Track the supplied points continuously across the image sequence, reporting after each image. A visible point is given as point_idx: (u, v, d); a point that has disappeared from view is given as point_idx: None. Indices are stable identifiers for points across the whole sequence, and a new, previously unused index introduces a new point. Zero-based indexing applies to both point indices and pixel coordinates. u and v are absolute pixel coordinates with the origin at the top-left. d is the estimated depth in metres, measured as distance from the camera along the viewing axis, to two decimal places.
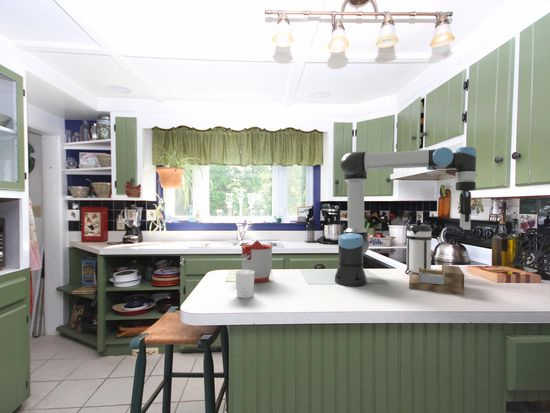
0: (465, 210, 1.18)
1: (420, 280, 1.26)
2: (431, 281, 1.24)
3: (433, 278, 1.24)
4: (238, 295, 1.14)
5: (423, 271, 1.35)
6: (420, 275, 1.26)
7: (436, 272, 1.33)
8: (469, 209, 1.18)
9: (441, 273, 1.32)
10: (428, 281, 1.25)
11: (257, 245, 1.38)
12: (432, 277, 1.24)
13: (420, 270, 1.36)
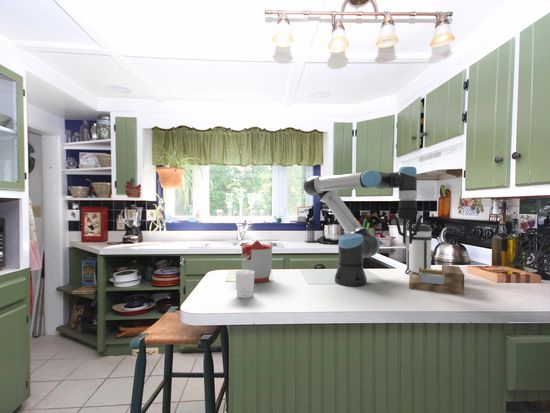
0: None
1: (420, 280, 1.26)
2: (431, 281, 1.24)
3: (433, 278, 1.24)
4: (238, 295, 1.14)
5: (423, 271, 1.35)
6: (420, 275, 1.26)
7: (436, 272, 1.33)
8: None
9: (441, 273, 1.32)
10: (428, 281, 1.25)
11: (257, 245, 1.38)
12: (432, 277, 1.24)
13: (420, 270, 1.36)
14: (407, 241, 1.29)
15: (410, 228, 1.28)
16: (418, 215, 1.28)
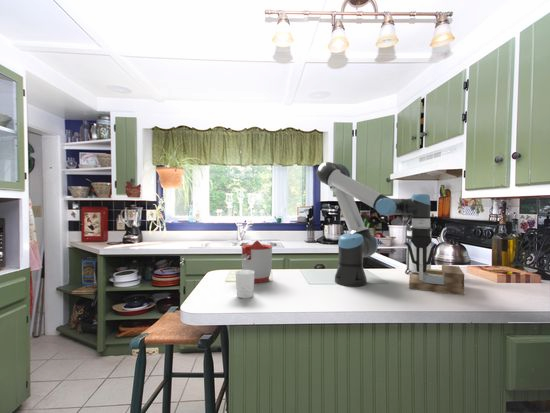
0: None
1: (424, 280, 1.25)
2: (435, 281, 1.24)
3: (437, 278, 1.23)
4: (238, 295, 1.14)
5: None
6: (424, 275, 1.25)
7: (436, 272, 1.33)
8: None
9: (441, 273, 1.32)
10: (432, 281, 1.24)
11: (257, 245, 1.38)
12: (436, 277, 1.23)
13: None
14: (421, 270, 1.26)
15: (424, 257, 1.26)
16: (432, 243, 1.25)
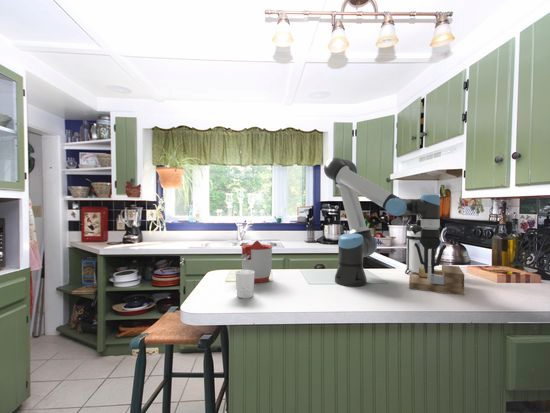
0: None
1: (432, 281, 1.24)
2: (444, 282, 1.22)
3: None
4: (238, 295, 1.14)
5: (423, 271, 1.35)
6: (432, 276, 1.24)
7: (436, 272, 1.33)
8: (420, 261, 1.27)
9: (441, 273, 1.32)
10: (441, 282, 1.23)
11: (257, 245, 1.38)
12: None
13: (420, 270, 1.36)
14: (429, 271, 1.25)
15: (433, 258, 1.24)
16: (441, 245, 1.23)
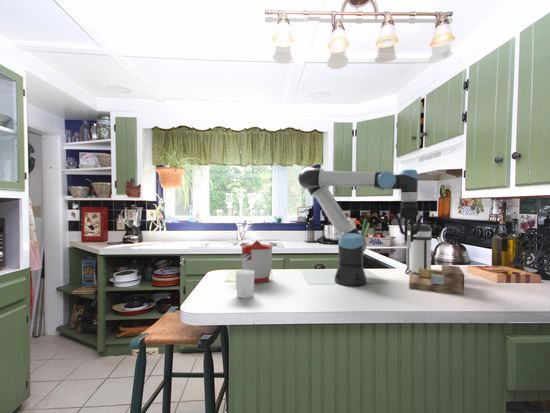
0: (401, 231, 1.41)
1: (432, 281, 1.24)
2: (444, 282, 1.22)
3: None
4: (238, 295, 1.14)
5: (423, 271, 1.35)
6: (432, 276, 1.24)
7: (436, 272, 1.33)
8: (400, 231, 1.40)
9: (441, 273, 1.32)
10: (441, 282, 1.23)
11: (257, 245, 1.38)
12: None
13: (420, 270, 1.36)
14: (408, 239, 1.38)
15: (411, 228, 1.37)
16: (419, 215, 1.36)
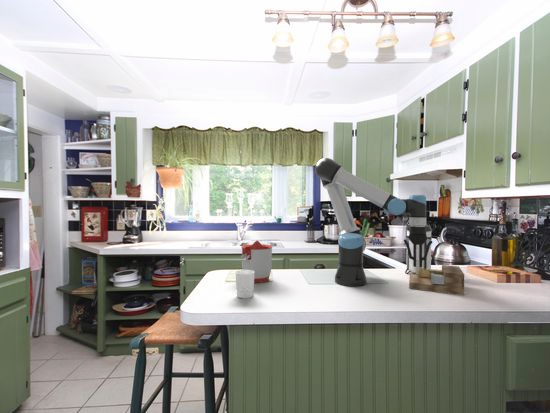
0: None
1: (432, 281, 1.24)
2: (444, 282, 1.22)
3: None
4: (238, 295, 1.14)
5: (424, 271, 1.35)
6: (432, 276, 1.24)
7: (437, 272, 1.33)
8: (409, 256, 1.39)
9: (442, 273, 1.32)
10: (441, 282, 1.23)
11: (257, 245, 1.38)
12: None
13: (421, 270, 1.35)
14: (417, 265, 1.37)
15: (420, 253, 1.36)
16: (428, 240, 1.36)
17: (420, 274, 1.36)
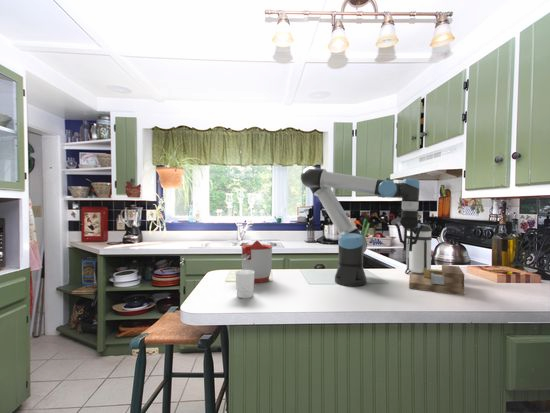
0: (400, 240, 1.41)
1: (432, 281, 1.24)
2: (444, 282, 1.22)
3: None
4: (238, 295, 1.14)
5: (428, 271, 1.34)
6: (432, 276, 1.24)
7: (441, 273, 1.32)
8: None
9: None
10: (441, 282, 1.23)
11: (257, 245, 1.38)
12: None
13: (425, 270, 1.35)
14: (407, 249, 1.37)
15: (411, 237, 1.37)
16: (419, 225, 1.36)
17: (424, 274, 1.35)
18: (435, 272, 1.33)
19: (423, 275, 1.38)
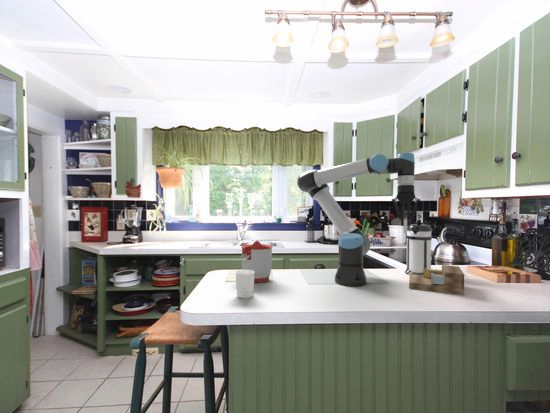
0: None
1: (432, 281, 1.24)
2: (444, 282, 1.22)
3: None
4: (238, 295, 1.14)
5: (428, 271, 1.34)
6: (432, 276, 1.24)
7: (441, 273, 1.32)
8: None
9: None
10: (441, 282, 1.23)
11: (257, 245, 1.38)
12: None
13: (425, 270, 1.35)
14: (405, 224, 1.36)
15: (408, 212, 1.35)
16: (415, 199, 1.34)
17: (424, 274, 1.35)
18: (435, 272, 1.33)
19: (423, 275, 1.38)
